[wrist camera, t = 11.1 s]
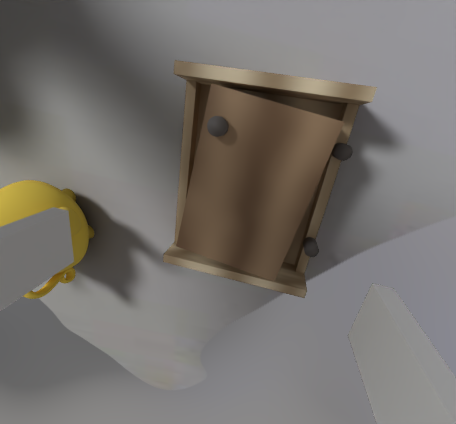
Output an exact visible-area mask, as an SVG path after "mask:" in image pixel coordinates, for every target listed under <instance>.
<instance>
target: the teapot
mask: <svg viewBox="0 0 456 424" xmlns="http://www.w3.org/2000/svg"><path fill="white" fill-rule="evenodd" d="M75 201H76V196H75V194H74V192H73V191H72V190H70V189H63V190H62V191H61V190H59V189H58V188H56V187H54V186H52V185H49V184H47V183H44V182H40V181H34V180H25V181H20V182H16V183H13V184H10V185H8V186H5V187H3V188H2V189H0V227H1V226H4V225H7V224H9V223H12V222H15V221H17V220H20V219H23V218H26V217H28V216H31V215H34V214H36V213H39V212H42V211H45V210H47V209H50V208H53V207H55V208H59V209H63V210H68V212H69V221H70V230H71V239H72V248H73V257H74V262H73V263H71V264H70V265H68V266H67V267H65V268H64V269H62V270H61V271H59V272H58V273H56V274H55V275H54V276H53V277H52V278H51V279H50V280H49V281H48V282H47V283H46V285H45V286H43V287H42V288H41V289H40V290H39V291H37V292H33V291H30V292H28V293H27V294H25V295H24V297H26V298H30V299H36V298H40V297H43V296H44V295H46V294H47V293H49V292H50V291H51V290H52V289H53V288H54V287H55V286H56V284H57V283H58V282H59V281H60V282H61V283H68V282H71V281H72V280H73V279H74V278H75V269H74V268H73V266H75V265H76V264H78V263H79V262H80V261H81V260H82V258H83V257H84V255H85V253H86V251H87V248H88V243H89V239H90V238H93V237H94V230H93V229H92V227H91V226H89V225H88V223H87V220H86V218H85V216H84V214H83V212H82V210H81V209H80V207H79V206H78V204H77V203H76V202H75ZM65 274H66V278H64V275H65Z"/></svg>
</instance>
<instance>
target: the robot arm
mask: <svg viewBox="0 0 456 424" xmlns="http://www.w3.org/2000/svg"><path fill="white" fill-rule="evenodd" d="M73 262H74V257H73V248H72V239H71V230H70V221H69V212H68V210H63V209H59V208H55V207H53V208H50V209H47V210H45V211H42V212H39V213H36V214H34V215H31V216H28V217H26V218H23V219H20V220H17V221H15V222H12V223H9V224H7V225H4V226H1V227H0V311H1V310H3V309H4V308H6V307H7V306H9V305H10V304H12V303H13V302H15V301H16V300H18V299H19V298H21V297H22V296H24V295H25V294H27V293H28V292H30V291H31V290H33V289H34V288H36V287H37V286H39V285H40V284H42V283H43V282H45V281H46V280H48V279H49V278H50V277H52V276H53V275H55V274H56V273H58V272H59V271H61V270H62V269H64V268H65V267H67V266H68V265H70V264H71V263H73ZM348 338H349V341H350V344H351V347H352V350H353V353H354V356H355V359H356V362H357V365H358V368H359V371H360V375H361V377H362V381H363V384H364V387H365V390H366V393H367V396H368V399H369V402H370V405H371V408H372V412H373V415H374V418H375V420H376V424H456V377H455V376H454V374H453V373H452V371H451V370H450V368H449V367H448V366H447V364H446V363H445V361H444V360H443V358H442V357H441V356H440V354H439V353H438V351H437V350H436V348H435V347H434V345H433V344H432V343H431V341H430V340H429V338H428V337H427V336H426V334H425V333H424V331H423V330H422V328H421V327H420V325H419V324H418V322H417V321H416V320H415V318H414V317H413V315H412V314H411V312H410V311H409V310H408V308H407V307H406V305H405V304H404V303H403V301H402V300H401V298H400V297H399V295H398V294H397V292H396V291H395V290H394V288H390V287H386V286H382V285H378V284H374V283H372V285H371V287H370V289H369V291H368V293H367V295H366V298H365V300H364V302H363V304H362V306H361V309H360V310H359V313H358V315H357V317H356V319H355V321H354V323H353V325H352V328H351V330H350V332H349V334H348Z"/></svg>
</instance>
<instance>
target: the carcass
mask: <svg viewBox="0 0 456 424" xmlns="http://www.w3.org/2000/svg"><path fill="white" fill-rule="evenodd" d="M174 74H175V75H177V76H179V77H181V78H184V79H186V80H187V82H186V95H185V108H184V122H183V135H182V149H181V162H180V175H179V189H178V202H177V215H176V229H175V242H174V243H173V244H172V246H171V247H170V248H169V249H168V250H167V251H166V252H165V253H164V257H163V262H166V263H170V264H174V265H178V266H182V267H186V268H190V269H193V270H197V271H201V272H205V273H209V274H213V275H217V276H221V277H224V278H228V279H232V280H236V281H240V282H244V283H248V284H252V285H256V286H259V287H263V288H267V289H271V290H275V291H279V292H283V293H287V294H290V295H294V296H298V297H302V298H305V295H306V292H307V288H306V281H305V275H304V273H305V270H306V267H307V264H308V261H309V258H310V257H314V256H316V255H317V254H318V252H319V249H318V246H317V243H316V237H317V233H318V230H319V227H320V224H321V221H322V218H323V215H324V212H325V209H326V206H327V203H328V200H329V197H330V194H331V191H332V188H333V185H334V182H335V179H336V175H337V172H338V169H339V166H340V163H341V161H344V160H347V159H349V158H350V157H351V155H352V148H351V146H350V145H348V144H347V142H348V139H349V136H350V133H351V130H352V127H353V124H354V121H355V117H356V114H357V111H358V108H359V105H362V104H366V103H370V102H372V100H373V97H374V94H375V91H376V88H377V87H371V86H364V85H356V84H349V83H341V82H334V81H326V80H319V79H311V78H304V77H296V76H289V75H281V74H274V73H266V72H259V71H251V70H244V69H236V68H229V67H222V66H214V65H207V64H199V63H192V62H184V61H177V60H175V62H174ZM211 83H212V84H215V85H219V86H222V87H225V88H229V89H232V90H236V91H239V92H243V93H246V94H250V95H253V96H257V97H260V98H263V99H267V100H270V101H274V102H277V103H281V104H284V105H288V106H291V107H294V108H298V109H301V110H305V111H308V112H312V113H315V114H319V115H322V116H326V117H329V118H332V119H336V120H339V121H343V122H344V125H343V127H342V129H341V131H340V134H339V136H338V138H337V141H336V143H335V145H334V147H333V150H332V152H331V154H330V156H329V159H328V161H327V163H326V166H325V168H324V170H323V172H322V175H321V177H320V179H319V181H318V184H317V186H316V188H315V191H314V193H313V195H312V197H311V200H310V202H309V204H308V206H307V209H306V211H305V213H304V216H303V218H302V220H301V222H300V225H299V227H298V229H297V231H296V234H295V236H294V238H293V241H292V243H291V245H290V247H289V250H288V252H287V254H286V257H285V259H284V261H283V263H282V266H281V268H280V270H279V272H278V275H277V277H276V279H275V282H274V281H271V280H268V279H266V278H263V277H260V276H257V275H254V274H252V273H249V272H246V271H243V270H241V269H238V268H235V267H232V266H229V265H227V264H224V263H221V262H218V261H216V260H213V259H210V258H207V257H205V256H202V255H199V254H196V253H193V252H191V251H188V250H185V249H182V248H180V247H177V246H176V244H177V240H178V235H179V230H180V226H181V221H182V217H183V212H184V207H185V203H186V198H187V193H188V189H189V184H190V180H191V175H192V170H193V166H194V161H195V157H196V152H197V147H198V143H199V138H200V133H201V129H202V124H203V120H204V115H205V110H206V106H207V101H208V96H209V92H210V87H211Z"/></svg>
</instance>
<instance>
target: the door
mask: <svg viewBox="0 0 456 424" xmlns="http://www.w3.org/2000/svg"><path fill="white" fill-rule="evenodd" d="M343 125H344V122H343V121H339V120H336V119H332V118H329V117H326V116H322V115H319V114H315V113H312V112H308V111H305V110H301V109H298V108H294V107H291V106H288V105H284V104H281V103H277V102H274V101H270V100H267V99H263V98H260V97H257V96H253V95H250V94H246V93H243V92H239V91H236V90H232V89H229V88H225V87H222V86H219V85H215V84H212V83H211V87H210V92H209V96H208V101H207V106H206V110H205V115H204V120H203V124H202V129H201V133H200V138H199V143H198V147H197V152H196V157H195V161H194V166H193V170H192V175H191V180H190V184H189V189H188V193H187V198H186V203H185V207H184V212H183V217H182V221H181V226H180V230H179V235H178V240H177V244H176V246H177V247H180V248H182V249H185V250H188V251H191V252H193V253H196V254H199V255H202V256H205V257H207V258H210V259H213V260H216V261H218V262H221V263H224V264H227V265H229V266H232V267H235V268H238V269H241V270H243V271H246V272H249V273H252V274H254V275H257V276H260V277H263V278H266V279H268V280H271V281H274V282H275V279H276V277H277V275H278V272H279V270H280V268H281V266H282V263H283V261H284V259H285V257H286V254H287V252H288V250H289V247H290V245H291V243H292V241H293V238H294V236H295V234H296V231H297V229H298V227H299V225H300V222H301V220H302V218H303V216H304V213H305V211H306V209H307V206H308V204H309V202H310V200H311V197H312V195H313V193H314V191H315V188H316V186H317V184H318V181H319V179H320V177H321V175H322V172H323V170H324V168H325V166H326V163H327V161H328V159H329V156H330V154H331V152H332V150H333V147H334V145H335V143H336V141H337V138H338V136H339V134H340V131H341V129H342V127H343Z"/></svg>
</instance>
